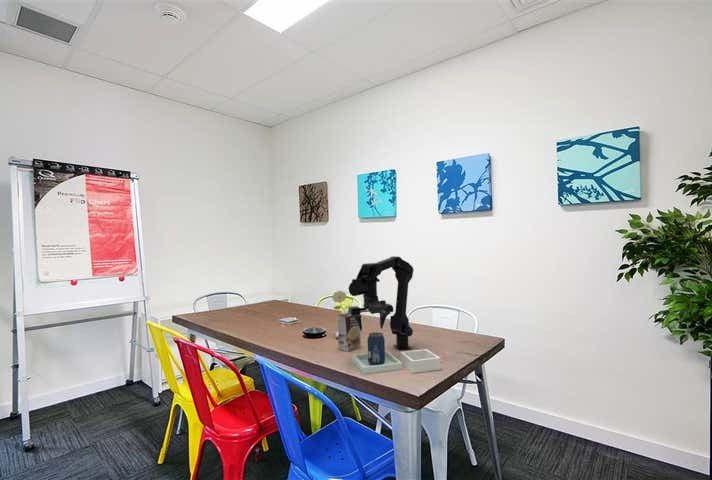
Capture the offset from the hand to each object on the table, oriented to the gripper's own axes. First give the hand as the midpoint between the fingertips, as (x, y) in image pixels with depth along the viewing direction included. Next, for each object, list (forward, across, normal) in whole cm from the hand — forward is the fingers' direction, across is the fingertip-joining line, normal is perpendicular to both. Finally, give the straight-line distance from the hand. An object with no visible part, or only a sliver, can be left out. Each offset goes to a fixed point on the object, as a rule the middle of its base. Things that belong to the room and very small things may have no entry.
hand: (371, 329), depth 145 cm
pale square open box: (+13, +15, -14) cm, 24 cm away
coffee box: (+13, -5, +18) cm, 23 cm away
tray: (+13, 0, -7) cm, 14 cm away
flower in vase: (+13, -2, +38) cm, 40 cm away
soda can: (+12, 0, -6) cm, 14 cm away
